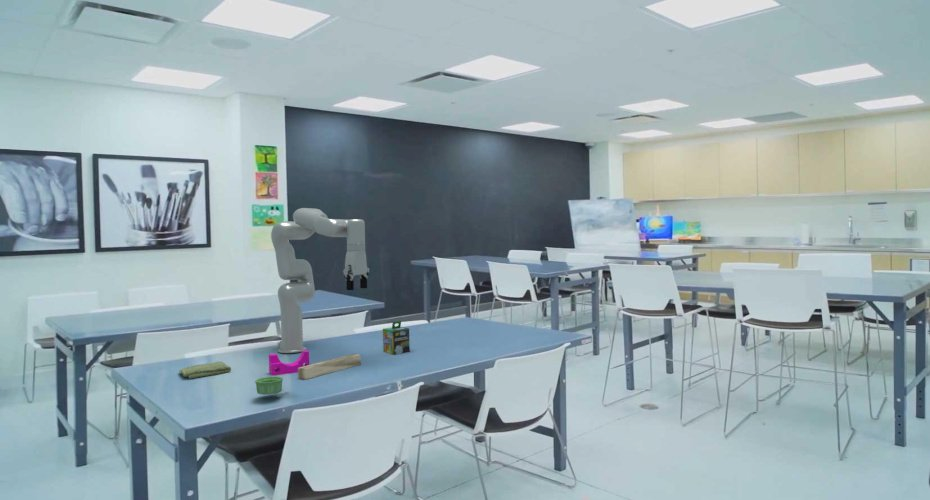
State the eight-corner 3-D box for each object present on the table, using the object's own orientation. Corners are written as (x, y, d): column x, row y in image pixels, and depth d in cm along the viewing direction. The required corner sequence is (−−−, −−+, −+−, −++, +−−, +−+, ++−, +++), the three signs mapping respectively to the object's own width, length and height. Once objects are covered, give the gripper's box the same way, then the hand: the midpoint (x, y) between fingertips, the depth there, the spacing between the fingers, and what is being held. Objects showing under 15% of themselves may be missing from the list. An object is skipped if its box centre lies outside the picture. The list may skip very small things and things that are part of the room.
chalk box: (399, 350, 267) (398, 319, 267) (410, 353, 260) (409, 320, 260) (382, 353, 261) (381, 321, 261) (393, 356, 254) (392, 322, 254)
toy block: (272, 376, 221) (271, 356, 221) (269, 373, 226) (268, 354, 226) (311, 371, 228) (310, 352, 228) (307, 368, 234) (306, 350, 233)
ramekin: (266, 388, 202) (266, 375, 202) (288, 389, 199) (288, 376, 199) (249, 394, 193) (249, 381, 193) (272, 396, 190) (272, 382, 190)
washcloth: (177, 374, 229) (177, 366, 229) (223, 367, 240) (223, 360, 239) (184, 380, 218) (184, 371, 218) (232, 372, 229) (232, 364, 229)
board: (298, 378, 215) (297, 367, 214) (353, 363, 240) (353, 353, 240) (305, 379, 212) (305, 369, 212) (360, 364, 238) (360, 354, 238)
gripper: (360, 248, 249) (361, 287, 249) (336, 249, 233) (337, 290, 234) (375, 248, 246) (376, 287, 246) (351, 248, 230) (352, 291, 231)
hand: (357, 289), depth 240 cm, fingers open, 9 cm apart
